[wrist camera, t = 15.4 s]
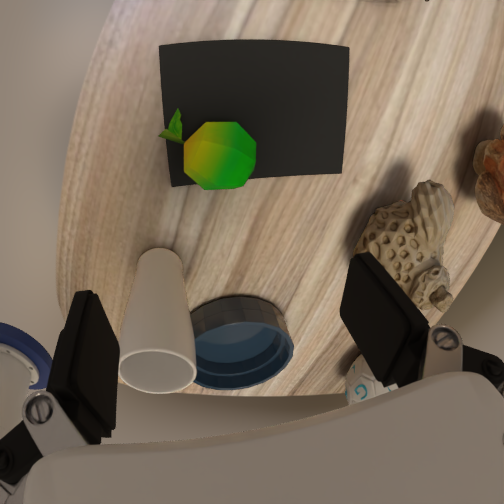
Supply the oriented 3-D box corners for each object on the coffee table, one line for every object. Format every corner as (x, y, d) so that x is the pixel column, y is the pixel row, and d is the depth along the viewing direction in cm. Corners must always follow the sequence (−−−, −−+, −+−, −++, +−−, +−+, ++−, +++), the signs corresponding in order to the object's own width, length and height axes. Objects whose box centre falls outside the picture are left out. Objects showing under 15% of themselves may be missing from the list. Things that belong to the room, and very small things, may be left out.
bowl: (188, 369, 47) (191, 395, 43) (170, 302, 38) (170, 331, 34) (281, 356, 49) (289, 380, 45) (286, 286, 40) (298, 313, 36)
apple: (268, 185, 23) (154, 146, 20) (234, 214, 29) (140, 185, 25) (275, 119, 26) (180, 81, 22) (244, 153, 31) (162, 124, 27)
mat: (171, 185, 30) (171, 187, 29) (159, 46, 22) (158, 45, 21) (339, 171, 33) (341, 173, 32) (346, 47, 25) (349, 47, 24)
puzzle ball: (370, 377, 62) (397, 431, 50) (319, 377, 56) (345, 442, 44) (413, 330, 55) (450, 386, 43) (365, 324, 49) (406, 394, 37)
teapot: (363, 151, 32) (454, 214, 19) (432, 166, 34) (515, 223, 22) (320, 298, 43) (364, 384, 31) (383, 293, 46) (432, 365, 34)
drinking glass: (147, 229, 32) (132, 337, 20) (200, 255, 35) (213, 363, 23) (122, 273, 34) (105, 381, 22) (172, 295, 37) (175, 401, 25)
